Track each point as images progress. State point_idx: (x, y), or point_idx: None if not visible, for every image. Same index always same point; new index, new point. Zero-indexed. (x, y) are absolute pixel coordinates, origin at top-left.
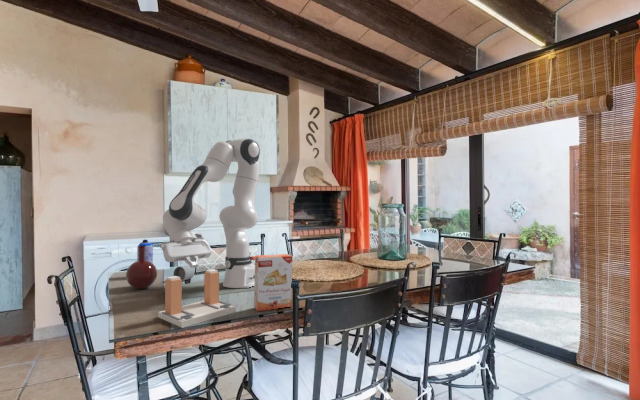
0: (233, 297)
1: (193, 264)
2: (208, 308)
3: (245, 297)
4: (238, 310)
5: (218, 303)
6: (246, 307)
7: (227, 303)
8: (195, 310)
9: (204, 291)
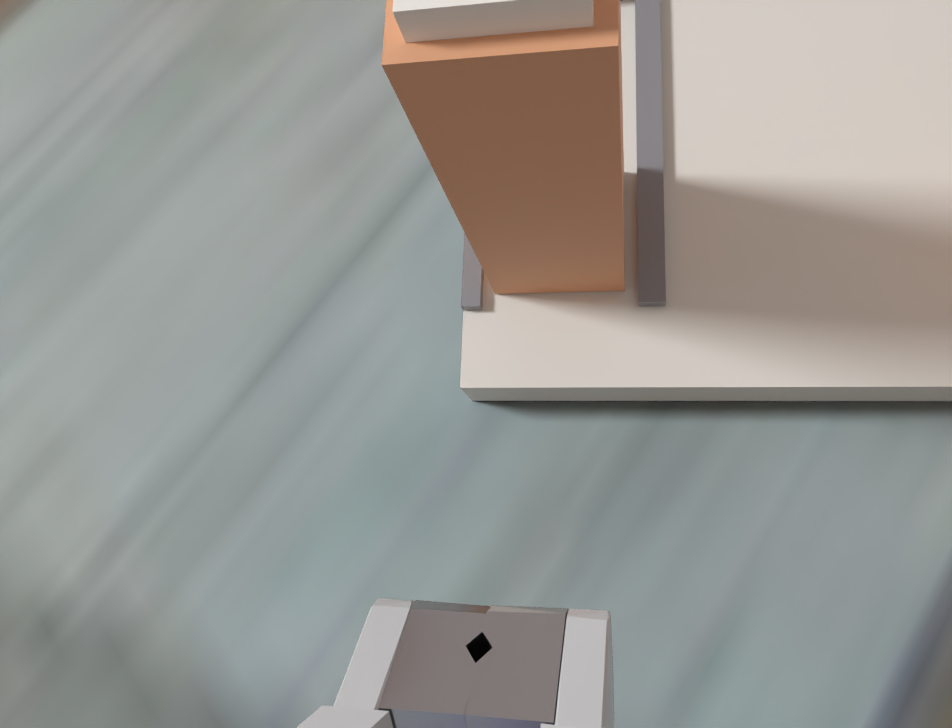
0: (145, 417)
1: (553, 626)
2: (714, 78)
3: (78, 315)
4: None
5: None
6: (324, 33)
7: None
8: (870, 109)
9: (622, 227)
